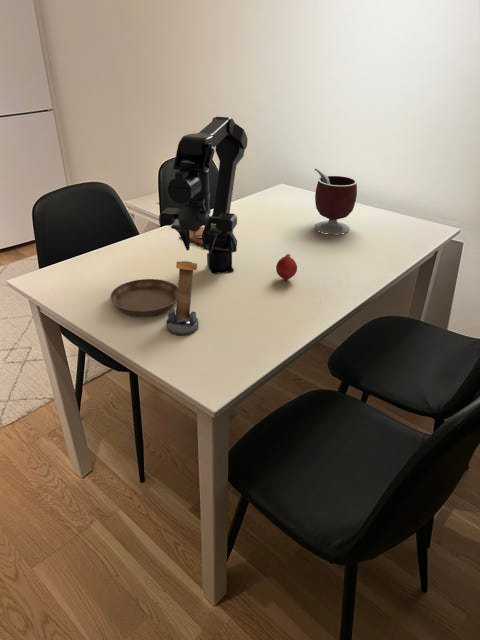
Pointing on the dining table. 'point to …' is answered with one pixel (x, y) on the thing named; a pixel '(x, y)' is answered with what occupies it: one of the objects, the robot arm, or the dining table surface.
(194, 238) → the sunglasses case
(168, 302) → the plant saucer
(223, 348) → the dining table surface
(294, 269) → the onion
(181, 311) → the brown capped cylinder
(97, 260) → the dining table surface
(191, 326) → the tribrach base
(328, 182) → the mate gourd
